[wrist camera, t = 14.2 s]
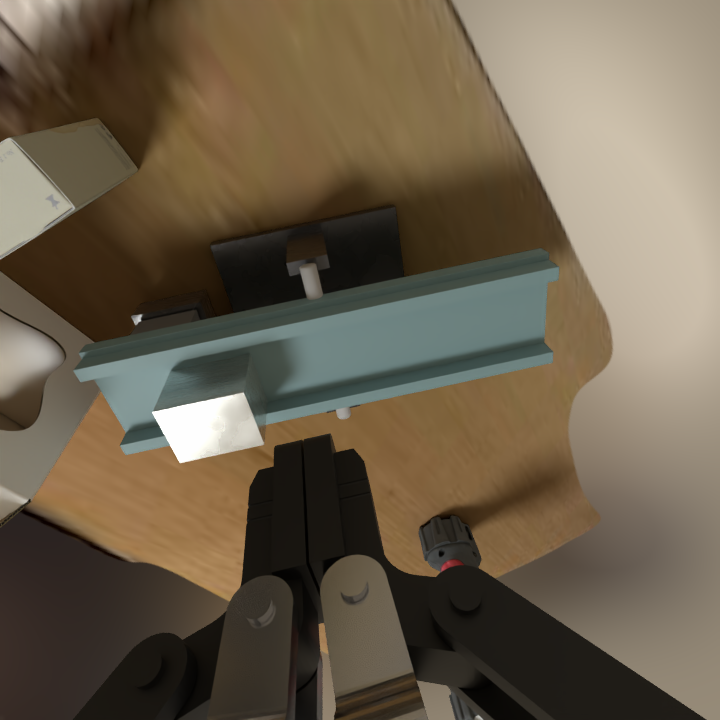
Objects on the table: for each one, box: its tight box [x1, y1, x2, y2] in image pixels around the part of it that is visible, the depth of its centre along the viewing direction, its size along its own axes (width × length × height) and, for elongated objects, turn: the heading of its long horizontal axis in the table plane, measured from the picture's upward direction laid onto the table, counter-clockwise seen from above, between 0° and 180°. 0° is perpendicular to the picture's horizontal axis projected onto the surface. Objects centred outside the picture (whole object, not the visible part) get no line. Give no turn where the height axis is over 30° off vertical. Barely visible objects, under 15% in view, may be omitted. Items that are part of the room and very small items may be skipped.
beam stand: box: [131, 204, 404, 413], centre depth 39 cm, size 15×24×8 cm, turn 100°
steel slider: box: [152, 354, 268, 463], centre depth 32 cm, size 5×6×5 cm
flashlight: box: [419, 516, 483, 720], centre depth 53 cm, size 8×8×23 cm
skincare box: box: [0, 118, 138, 259], centre depth 29 cm, size 6×4×12 cm
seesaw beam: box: [73, 248, 559, 455], centre depth 37 cm, size 14×34×9 cm, turn 100°
